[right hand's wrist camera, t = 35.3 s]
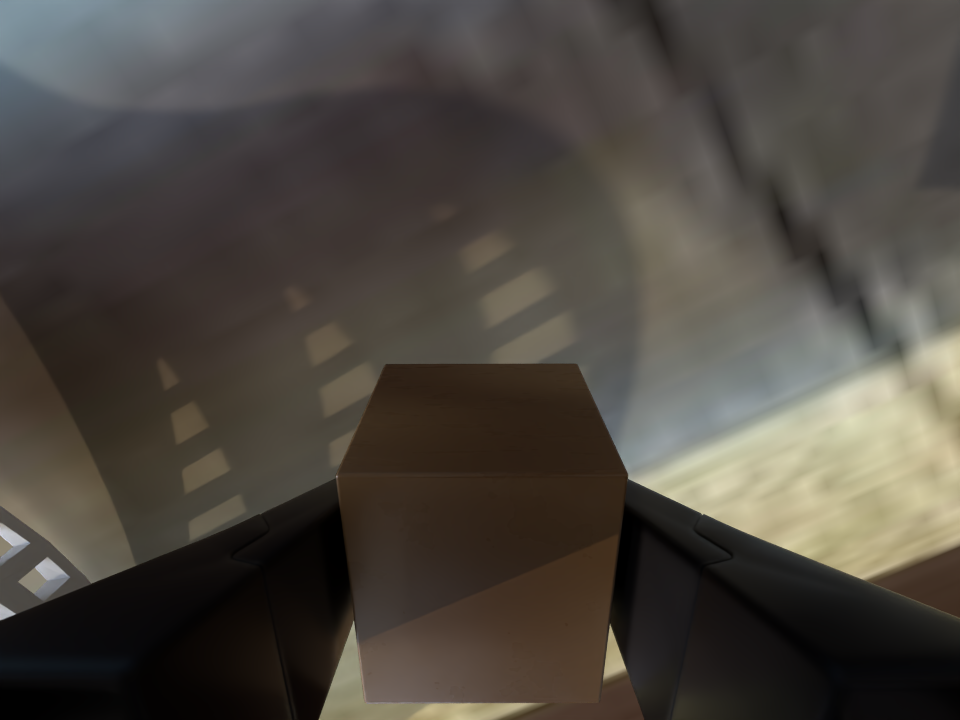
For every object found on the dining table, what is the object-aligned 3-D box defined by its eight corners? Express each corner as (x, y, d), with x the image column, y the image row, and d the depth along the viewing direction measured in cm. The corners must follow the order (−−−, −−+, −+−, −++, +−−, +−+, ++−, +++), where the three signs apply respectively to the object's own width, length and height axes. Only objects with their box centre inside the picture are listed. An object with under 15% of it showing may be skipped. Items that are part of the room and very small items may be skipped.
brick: (398, 540, 14) (364, 705, 10) (384, 363, 12) (334, 474, 8) (564, 539, 14) (600, 704, 10) (577, 362, 12) (629, 473, 8)
